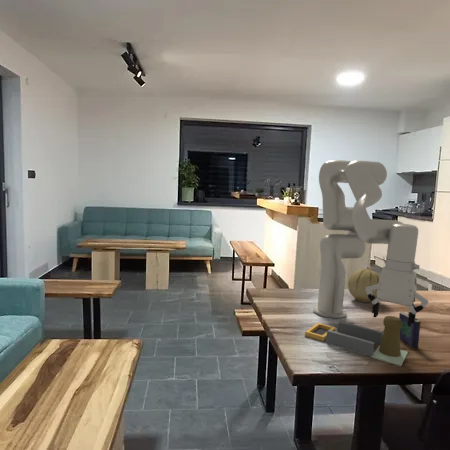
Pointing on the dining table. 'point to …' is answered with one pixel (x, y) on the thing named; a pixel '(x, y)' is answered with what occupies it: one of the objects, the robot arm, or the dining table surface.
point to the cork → (391, 336)
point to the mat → (390, 359)
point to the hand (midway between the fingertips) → (392, 320)
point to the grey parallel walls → (354, 338)
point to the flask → (409, 331)
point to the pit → (319, 331)
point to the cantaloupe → (362, 284)
